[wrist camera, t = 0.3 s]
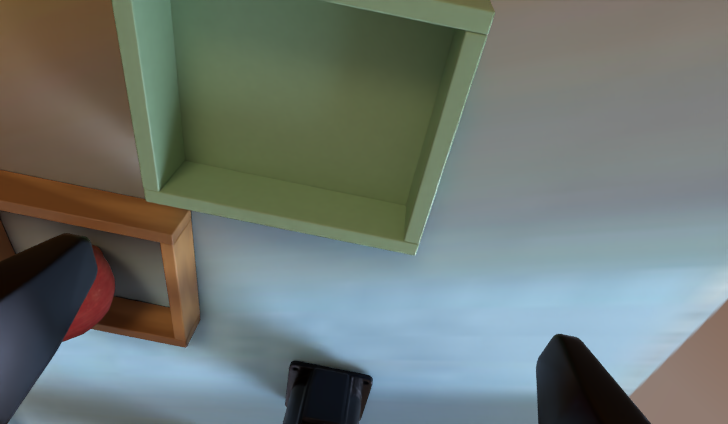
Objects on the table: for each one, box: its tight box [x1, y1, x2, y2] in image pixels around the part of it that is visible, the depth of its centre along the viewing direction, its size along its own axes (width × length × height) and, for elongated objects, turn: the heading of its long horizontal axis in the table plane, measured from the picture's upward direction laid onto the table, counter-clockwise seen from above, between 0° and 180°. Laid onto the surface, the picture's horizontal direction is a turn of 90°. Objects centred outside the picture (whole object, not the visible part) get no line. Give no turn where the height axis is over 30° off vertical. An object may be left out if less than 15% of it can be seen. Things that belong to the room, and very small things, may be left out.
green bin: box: [112, 0, 495, 255], centre depth 20 cm, size 12×14×4 cm
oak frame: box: [0, 170, 200, 348], centre depth 29 cm, size 11×14×2 cm
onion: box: [62, 245, 115, 342], centre depth 27 cm, size 6×6×8 cm
